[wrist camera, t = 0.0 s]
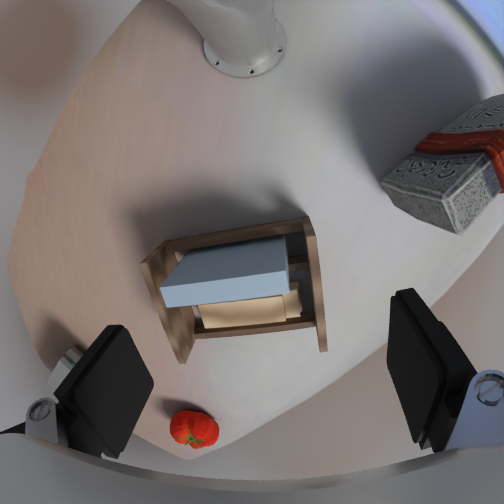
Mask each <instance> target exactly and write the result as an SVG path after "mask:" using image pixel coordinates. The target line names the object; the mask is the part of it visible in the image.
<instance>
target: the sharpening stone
mask: <svg viewBox="0 0 504 504" xmlns="http://www.w3.org/2000/svg"><path fill="white" fill-rule="evenodd" d="M82 356H83V353H82V352H81V351H80V350H79V349H78V348H77V347H76V346H75V345H74V346H73V347H71V348H70V349H69V350H68V351H67V352H66V353H65V355H64V357H63V356H62V357H61V359H60V360H59V361H58V363H57V365H56V366H55V368H54V370H53V372H52V373H51V375H50V377H49V379H48V381H47V382H46V384H45V386H44V388H43V390H42V392H41V393H42V394H43V395H45V396H46V397H49V398H52V399H53V400H54V401H55V403H56V404H57V403H58V402H59V401H58V400H57V398H56V397H55V396H54V394H53V393H54V392H55V390H56V389H57V388H58V386H59V385H60V384H61V382H62V381H63V380H64V378H65V377H66V376H67V375H68V373H69V372H70V371H71V370H72V368H73V367H74V366H75V364H76V363H77V362H78V361H79V359H80V358H81V357H82Z"/></svg>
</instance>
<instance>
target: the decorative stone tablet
mask: <svg viewBox="0 0 504 504" xmlns="http://www.w3.org/2000/svg"><path fill="white" fill-rule="evenodd" d="M415 150H416V152H415V153H414V154H412V155H411V156H410V157H409V158H407V159H406V160H405V161H403V162H402V163H401V164H400V165H398V166H397V167H396V168H395V169H393V170H392V171H391V172H389V173H388V174H387V175H386V176H384V177H383V178H382V180H381V182H380V183H381V185H382V186H383V188H384V190H385V191H386V193H387V194H388V196H389V198H390V199H391V201H392V203H393V204H394V206H396V207H397V208H399V209H401V210H403V211H404V212H406V213H408V214H409V215H411V216H413V217H414V218H416V219H418V220H421V221H423V222H426V223H429V224H431V225H434V226H436V227H439V228H442V229H444V230H447V231H449V232H452V233H454V234H457V235H461V236H462V235H463V234H464V233H465V232H466V231H467V229H468V228H469V227H470V226H471V225H472V224H473V223H474V222H475V221H476V220H477V218H478V217H479V216H480V215H481V214H482V213H483V212H484V210H485V209H486V208H487V207H488V206H489V204H490V203H491V202H492V201H493V200H494V198H495V197H496V196H497V195H498V193H504V94H501V95H497V96H492V97H490V98H488V99H486V100H484V101H482V102H480V103H478V104H476V105H474V106H472V107H471V108H469V109H468V110H466V111H465V112H464V113H462V114H461V115H459V116H458V117H456V118H455V119H454V120H453V121H451V122H450V123H449V124H448V125H446V126H445V127H444V128H443V129H441V130H440V131H439V132H438V133H431V134H430V135H428V136H427V137H426V138H425V139H424V140H423V141H421V142H420V143H419V144H418V145H417V146H416V147H415Z"/></svg>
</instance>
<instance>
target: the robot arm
mask: <svg viewBox="0 0 504 504" xmlns="http://www.w3.org/2000/svg"><path fill="white" fill-rule="evenodd" d="M166 1H168V2H170V3H171V4H173V5H174V6H176V7H177V8H178V9H179V10H180V11H181V12H182V13H183V14H184V15H185V16H186V18H187V19H188V20H189V21H190V22H191V24H192V25H193V26H194V27H195V28H196V30H197V31H198V32H199V33H200V35H201V36H202V37H203V38H204V43H203V46H204V52H205V55H206V58H207V59H208V61H209V62H210V64H211V65H212V66H213V67H214V68H215V69H217V70H218V71H219V72H221V73H223V74H225V75H228V76H231V77H236V78H250V77H256V76H259V75H262V74H264V73H266V72H268V71H270V70H271V69H272V68H274V67H275V66H276V65H277V64H278V63H279V62H280V61H281V59H282V57H283V56H284V53H285V50H286V44H287V40H286V34H285V30H284V29H283V27H282V25H281V24H280V23H279V21H278V20H277V19H275V13H274V0H166ZM279 50H280V51H281V52H278V51H279ZM217 63H219V64H218V65H216V64H217ZM251 71H253V72H254V73H252V74H251V73H250V72H251ZM387 367H388V370H389V372H390V375H391V378H392V380H393V383H394V385H395V388H396V391H397V394H398V397H399V400H400V403H401V406H402V408H403V411H404V414H405V417H406V420H407V424H408V426H409V430H410V433H411V436H412V439H413V442H414V443H418V442H419V445H420V448H421V450H423V449H426V448H429V447H432V450H433V452H434V454H430V455H427V456H423V457H419V458H415V459H412V460H407V461H403V462H399V463H395V464H391V465H387V466H382V467H378V468H373V469H368V470H363V471H357V472H351V473H345V474H338V475H331V476H323V477H314V478H303V479H287V480H227V479H212V478H201V477H192V476H184V475H176V474H169V473H164V472H158V471H153V470H147V469H142V468H138V467H133V466H129V465H125V464H121V463H117V462H113V461H109V460H106V459H102V457H101V454H102V452H103V453H104V454H105V455H106V456H108V457H112V458H115V459H118V457H119V454H120V452H122V451H123V450H124V449H125V447H126V444H127V442H128V440H129V438H130V436H131V434H132V431H133V429H134V427H135V425H136V423H137V421H138V419H139V417H140V414H141V412H142V410H143V408H144V406H145V404H146V402H147V400H148V398H149V396H150V393H151V391H152V389H153V387H154V381H153V378H152V377H151V375H150V373H149V371H148V369H147V367H146V365H145V363H144V361H143V360H142V358H141V356H140V354H139V352H138V350H137V348H136V346H135V344H134V342H133V339H132V337H131V335H130V333H129V331H128V330H127V329H126V328H125V327H124V326H123V325H108V326H107V327H106V328H105V329H104V330H103V331H102V333H101V334H100V335H99V336H98V337H97V339H96V340H95V341H94V342H93V343H92V345H91V346H90V347H89V348H88V349H87V351H86V352H85V353H84V354H83V356H82V357H81V358H80V359H79V361H78V362H77V363H76V364H75V366H74V367H73V368H72V370H71V371H70V372H69V373H68V375H67V376H66V377H65V378H64V380H63V381H62V382H61V384H60V385H59V386H58V388H57V389H56V390H55V392H54V393H53V394H54V396H55V397H56V398H57V400H58V401H59V402H58V403H57V404H56V403H55V401H54V400H53V399H52V398H49V397H44V398H40V399H39V400H37V401H35V402H34V403H33V404H32V405H31V406H30V407H29V409H28V411H27V413H26V422H24V423H21V424H19V425H16V426H14V427H12V428H9V429H7V430H4V431H2V432H0V504H504V373H503V372H501V371H498V370H490V369H489V370H485V371H481V372H480V373H477V372H476V370H475V369H474V367H473V365H472V364H471V362H470V361H469V359H468V358H467V356H466V355H465V353H464V352H463V350H462V349H461V347H460V346H459V344H458V343H457V341H456V340H455V339H454V337H453V336H452V334H451V333H450V332H449V330H448V329H447V327H446V326H445V325H444V324H443V323H442V322H441V321H438V320H437V319H436V317H435V316H434V314H433V313H432V312H431V311H430V309H429V308H428V306H427V305H426V304H425V302H424V301H423V300H422V298H421V297H420V296H419V295H418V293H417V292H416V291H415V289H413V288H409V289H404V290H399V291H397V292H396V294H395V296H392V297H391V301H390V322H389V337H388V348H387Z"/></svg>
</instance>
